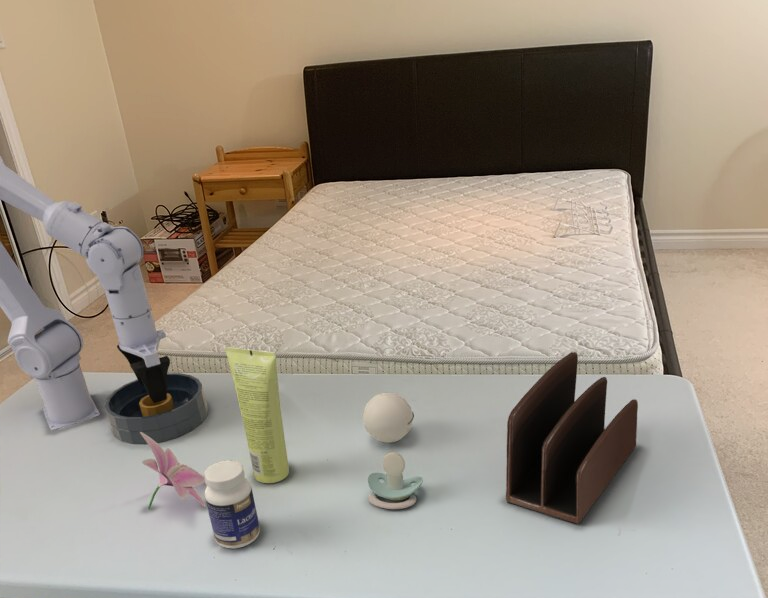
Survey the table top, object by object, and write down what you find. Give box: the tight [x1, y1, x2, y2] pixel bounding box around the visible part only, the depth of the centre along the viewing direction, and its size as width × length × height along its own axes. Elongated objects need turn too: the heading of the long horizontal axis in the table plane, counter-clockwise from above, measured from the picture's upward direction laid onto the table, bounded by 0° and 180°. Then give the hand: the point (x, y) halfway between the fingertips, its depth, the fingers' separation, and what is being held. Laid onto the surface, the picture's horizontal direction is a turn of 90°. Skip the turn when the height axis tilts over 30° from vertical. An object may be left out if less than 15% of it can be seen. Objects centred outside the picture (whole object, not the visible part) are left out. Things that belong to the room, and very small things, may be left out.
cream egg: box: [362, 392, 415, 444], centre depth 112 cm, size 10×7×7 cm
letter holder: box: [505, 351, 639, 525], centre depth 97 cm, size 10×20×14 cm, turn 145°
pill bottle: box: [203, 460, 261, 549], centre depth 94 cm, size 6×6×10 cm
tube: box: [224, 346, 290, 484], centre depth 103 cm, size 6×5×20 cm
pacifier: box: [367, 451, 424, 510], centre depth 98 cm, size 7×6×6 cm
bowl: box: [104, 372, 209, 445], centre depth 123 cm, size 15×15×5 cm
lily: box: [140, 432, 207, 510], centre depth 102 cm, size 12×12×10 cm
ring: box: [139, 393, 175, 417], centre depth 123 cm, size 5×5×4 cm
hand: (153, 391), depth 121 cm, fingers open, 7 cm apart
